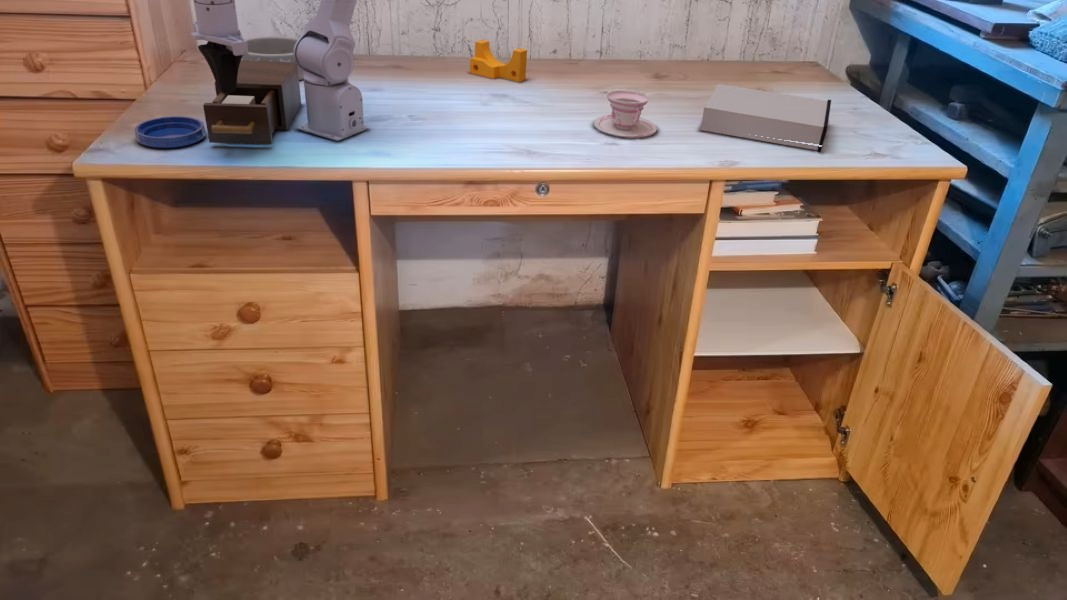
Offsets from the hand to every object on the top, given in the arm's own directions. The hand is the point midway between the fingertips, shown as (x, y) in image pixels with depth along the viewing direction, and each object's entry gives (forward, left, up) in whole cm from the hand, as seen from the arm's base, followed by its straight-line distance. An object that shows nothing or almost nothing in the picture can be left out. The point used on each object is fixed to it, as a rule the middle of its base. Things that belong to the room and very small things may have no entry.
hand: (227, 91), depth 123 cm
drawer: (+3, -5, -9) cm, 10 cm away
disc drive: (-69, -70, -10) cm, 98 cm away
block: (+4, -5, -8) cm, 10 cm away
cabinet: (+9, -15, -10) cm, 20 cm away
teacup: (-47, -52, -10) cm, 71 cm away
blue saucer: (+12, +3, -10) cm, 16 cm away
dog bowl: (+28, -37, -10) cm, 48 cm away
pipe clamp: (-10, -65, -10) cm, 66 cm away
